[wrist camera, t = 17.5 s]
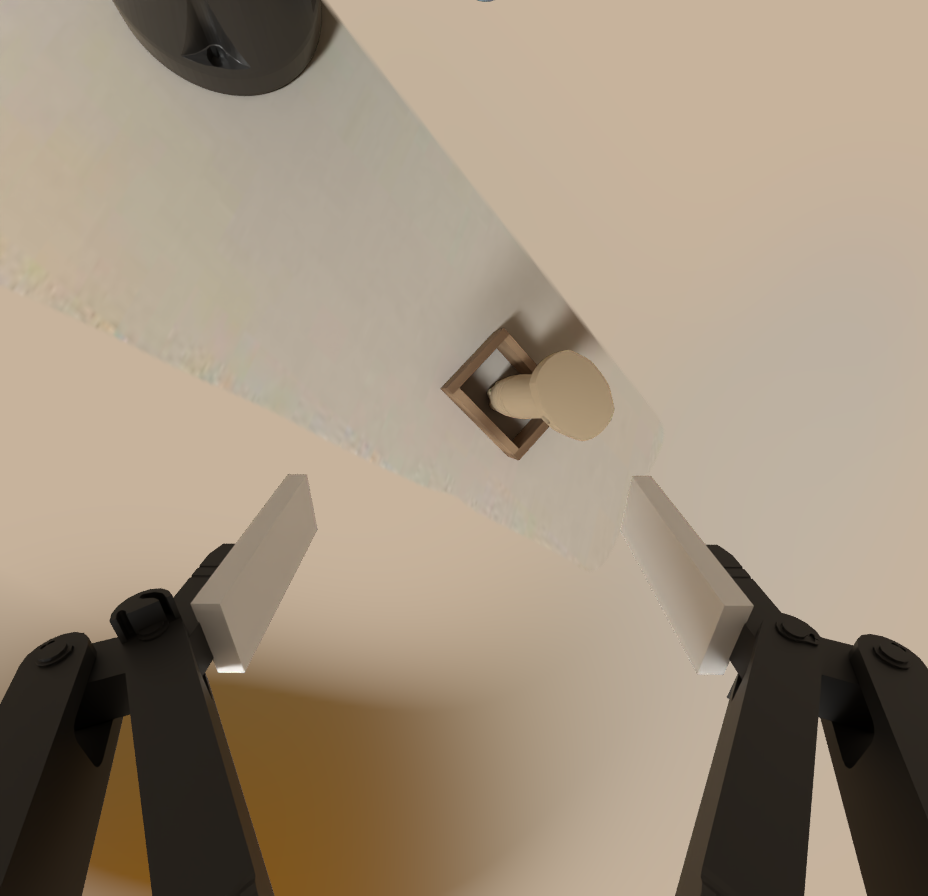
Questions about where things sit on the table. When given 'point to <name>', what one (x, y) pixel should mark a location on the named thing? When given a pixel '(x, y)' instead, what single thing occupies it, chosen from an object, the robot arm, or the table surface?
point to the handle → (558, 396)
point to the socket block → (453, 391)
